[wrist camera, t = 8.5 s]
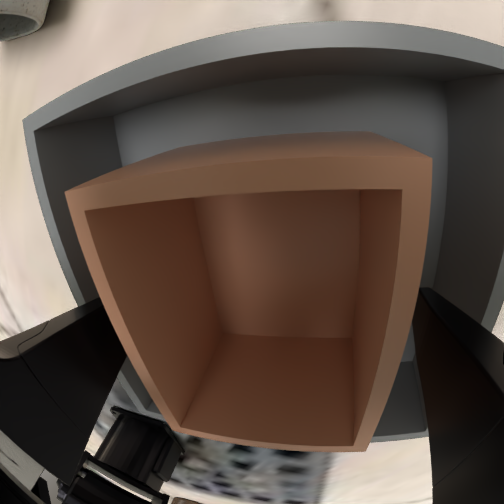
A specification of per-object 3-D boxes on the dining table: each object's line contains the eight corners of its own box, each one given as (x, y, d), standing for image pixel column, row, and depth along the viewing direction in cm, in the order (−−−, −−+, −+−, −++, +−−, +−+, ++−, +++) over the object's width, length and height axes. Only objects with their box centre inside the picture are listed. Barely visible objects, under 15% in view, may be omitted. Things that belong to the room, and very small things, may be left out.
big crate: (176, 351, 17) (140, 413, 13) (109, 105, 11) (22, 119, 6) (418, 359, 13) (432, 435, 9) (449, 69, 7) (525, 54, 3)
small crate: (218, 331, 14) (172, 430, 9) (179, 147, 11) (64, 191, 5) (361, 336, 13) (365, 451, 7) (369, 131, 9) (432, 158, 4)
